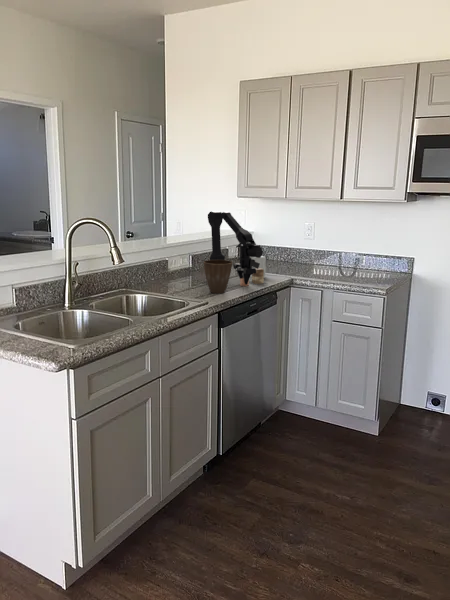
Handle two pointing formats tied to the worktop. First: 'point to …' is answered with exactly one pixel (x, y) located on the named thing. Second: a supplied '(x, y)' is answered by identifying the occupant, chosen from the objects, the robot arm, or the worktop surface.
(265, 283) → the pad
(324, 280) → the worktop surface
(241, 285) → the peach rounded piece
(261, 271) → the walnut cube
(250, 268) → the robot arm
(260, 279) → the maple cube
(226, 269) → the plant pot
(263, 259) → the supplement box
